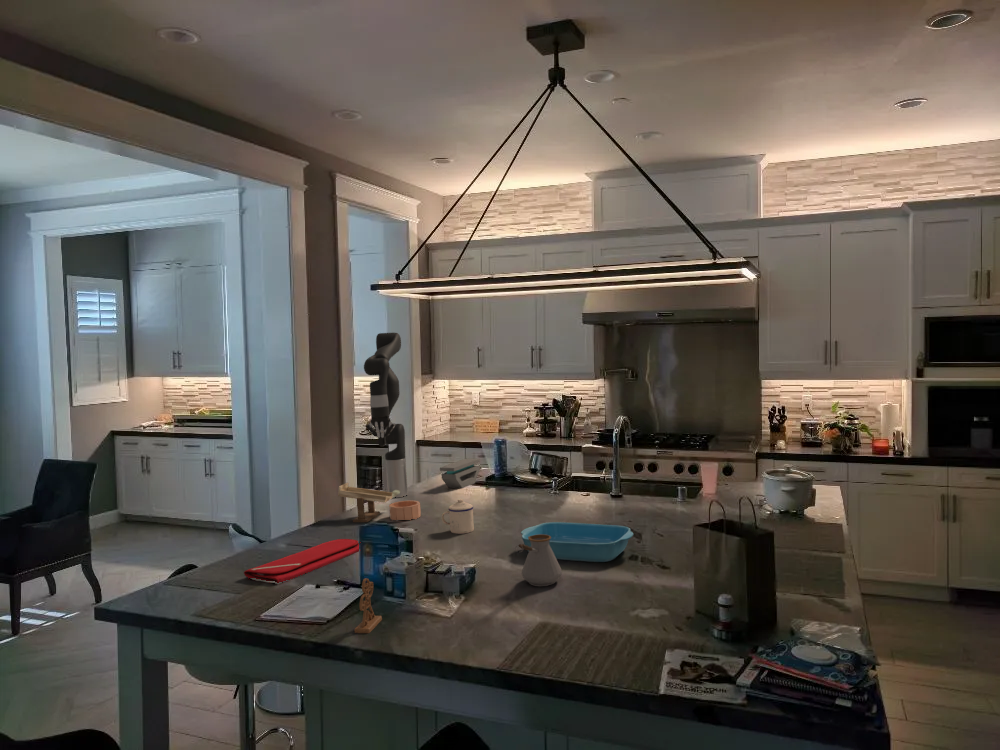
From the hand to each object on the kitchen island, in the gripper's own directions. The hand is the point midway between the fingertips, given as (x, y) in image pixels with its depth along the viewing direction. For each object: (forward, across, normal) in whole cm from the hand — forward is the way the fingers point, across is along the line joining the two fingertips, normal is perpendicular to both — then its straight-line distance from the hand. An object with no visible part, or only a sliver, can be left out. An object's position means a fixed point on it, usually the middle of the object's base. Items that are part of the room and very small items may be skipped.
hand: (382, 446), depth 315 cm
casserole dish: (+28, -87, +63) cm, 111 cm away
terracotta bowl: (+27, -14, +15) cm, 34 cm away
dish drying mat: (+28, 0, +74) cm, 79 cm away
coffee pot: (+27, -79, +96) cm, 127 cm away
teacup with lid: (+27, -41, +36) cm, 61 cm away
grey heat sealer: (+27, -21, -47) cm, 58 cm away
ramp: (+19, +3, +10) cm, 21 cm away
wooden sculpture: (+27, -41, +125) cm, 134 cm away
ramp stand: (+27, +3, +15) cm, 31 cm away
